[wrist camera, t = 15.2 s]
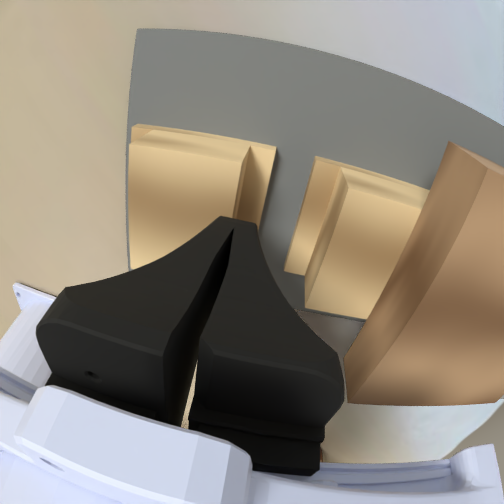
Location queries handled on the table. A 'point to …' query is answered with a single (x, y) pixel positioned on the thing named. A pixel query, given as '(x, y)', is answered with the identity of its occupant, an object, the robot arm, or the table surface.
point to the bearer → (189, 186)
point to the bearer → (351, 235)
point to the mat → (298, 119)
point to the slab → (441, 299)
